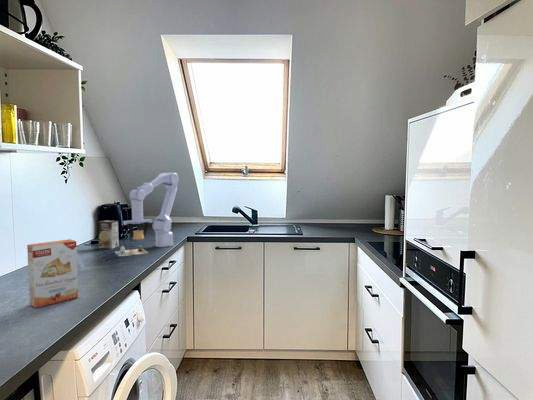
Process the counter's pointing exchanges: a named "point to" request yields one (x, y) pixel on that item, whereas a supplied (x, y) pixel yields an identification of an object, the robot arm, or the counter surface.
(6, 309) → the counter surface
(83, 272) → the counter surface
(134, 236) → the bronze ring
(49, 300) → the cracker box
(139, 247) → the stand rod
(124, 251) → the steel hub
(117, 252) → the hub pad
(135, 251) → the maple board
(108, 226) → the coffee box
